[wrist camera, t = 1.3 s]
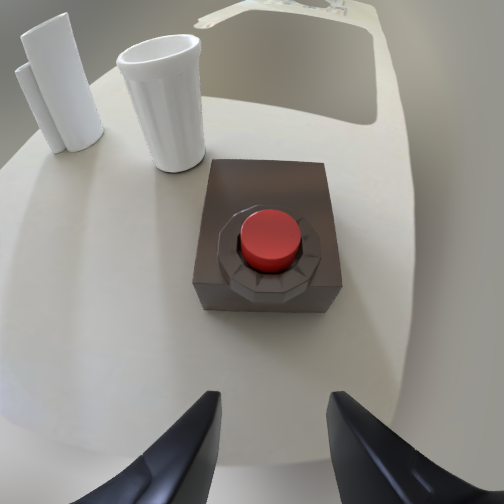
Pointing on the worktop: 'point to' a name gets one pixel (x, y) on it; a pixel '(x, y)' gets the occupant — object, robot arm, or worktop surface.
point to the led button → (270, 240)
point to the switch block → (229, 238)
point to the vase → (58, 87)
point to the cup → (167, 98)
